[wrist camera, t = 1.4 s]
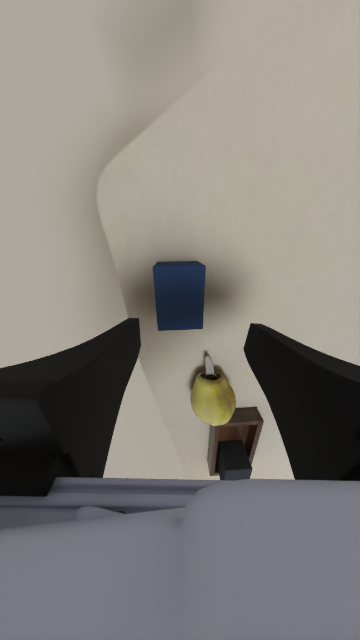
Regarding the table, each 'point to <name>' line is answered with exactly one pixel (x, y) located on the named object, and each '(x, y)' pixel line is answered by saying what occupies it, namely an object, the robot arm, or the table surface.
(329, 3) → the table surface
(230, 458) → the dark grey rectangular block
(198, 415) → the fruit
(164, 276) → the blue rectangular block
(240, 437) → the frame
